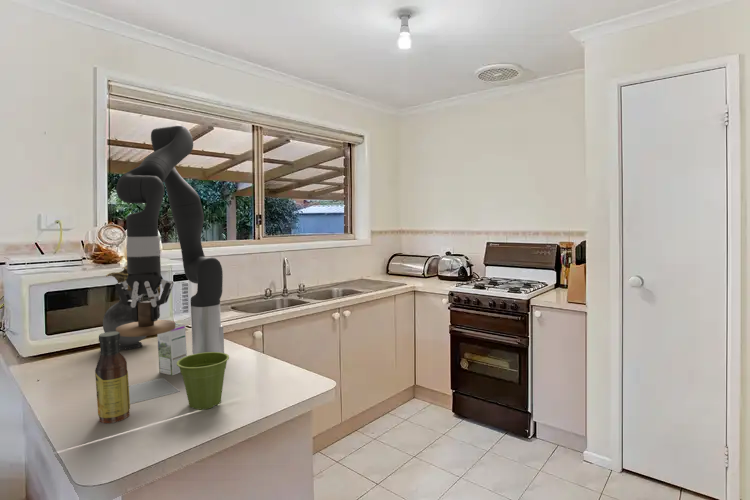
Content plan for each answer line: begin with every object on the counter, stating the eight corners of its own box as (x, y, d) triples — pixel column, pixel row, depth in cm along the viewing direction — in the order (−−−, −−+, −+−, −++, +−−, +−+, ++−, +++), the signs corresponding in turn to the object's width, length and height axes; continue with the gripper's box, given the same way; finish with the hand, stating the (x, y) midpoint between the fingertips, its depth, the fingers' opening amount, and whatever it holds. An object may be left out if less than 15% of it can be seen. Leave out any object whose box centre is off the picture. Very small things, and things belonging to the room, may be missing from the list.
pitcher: (101, 348, 156) (97, 265, 154) (158, 338, 169) (155, 261, 167) (107, 355, 148) (103, 267, 146) (167, 344, 161) (163, 263, 159)
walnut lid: (166, 321, 121) (166, 296, 121) (182, 330, 111) (181, 302, 110) (111, 329, 112) (109, 302, 112) (122, 339, 102) (120, 309, 102)
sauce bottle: (107, 413, 101) (103, 329, 100) (135, 412, 102) (131, 328, 100) (91, 426, 95) (86, 337, 93) (121, 425, 95) (117, 336, 94)
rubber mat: (163, 379, 124) (163, 377, 124) (179, 392, 113) (179, 391, 113) (106, 392, 114) (106, 390, 114) (119, 408, 104) (119, 406, 104)
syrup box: (188, 370, 131) (186, 323, 130) (171, 376, 125) (169, 327, 125) (174, 368, 133) (173, 321, 132) (158, 374, 128) (156, 325, 127)
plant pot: (173, 403, 107) (171, 358, 106) (221, 391, 114) (220, 349, 113) (185, 419, 97) (183, 370, 97) (237, 405, 105) (236, 360, 104)
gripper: (106, 255, 106) (109, 325, 107) (167, 254, 107) (169, 323, 108) (121, 253, 113) (124, 319, 114) (177, 253, 115) (180, 317, 116)
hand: (146, 320), depth 111 cm, fingers closed on walnut lid, 3 cm apart
